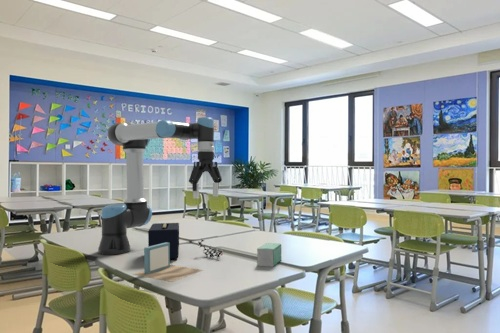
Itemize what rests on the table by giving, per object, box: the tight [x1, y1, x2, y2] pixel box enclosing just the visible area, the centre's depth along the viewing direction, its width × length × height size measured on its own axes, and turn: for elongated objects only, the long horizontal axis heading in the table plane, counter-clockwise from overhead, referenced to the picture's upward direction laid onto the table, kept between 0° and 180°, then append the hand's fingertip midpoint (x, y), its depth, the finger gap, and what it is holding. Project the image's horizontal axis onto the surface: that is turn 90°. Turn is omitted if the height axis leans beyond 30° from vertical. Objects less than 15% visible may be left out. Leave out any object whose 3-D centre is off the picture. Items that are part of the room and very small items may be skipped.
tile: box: [143, 242, 171, 274], centre depth 154 cm, size 2×12×10 cm, turn 149°
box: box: [256, 242, 282, 268], centre depth 167 cm, size 7×14×8 cm, turn 161°
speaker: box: [147, 222, 180, 261], centre depth 180 cm, size 22×13×15 cm, turn 9°
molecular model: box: [197, 238, 224, 259], centre depth 178 cm, size 6×15×8 cm, turn 52°
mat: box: [133, 264, 204, 283], centre depth 151 cm, size 20×18×1 cm
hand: (206, 197), depth 178 cm, fingers open, 13 cm apart
